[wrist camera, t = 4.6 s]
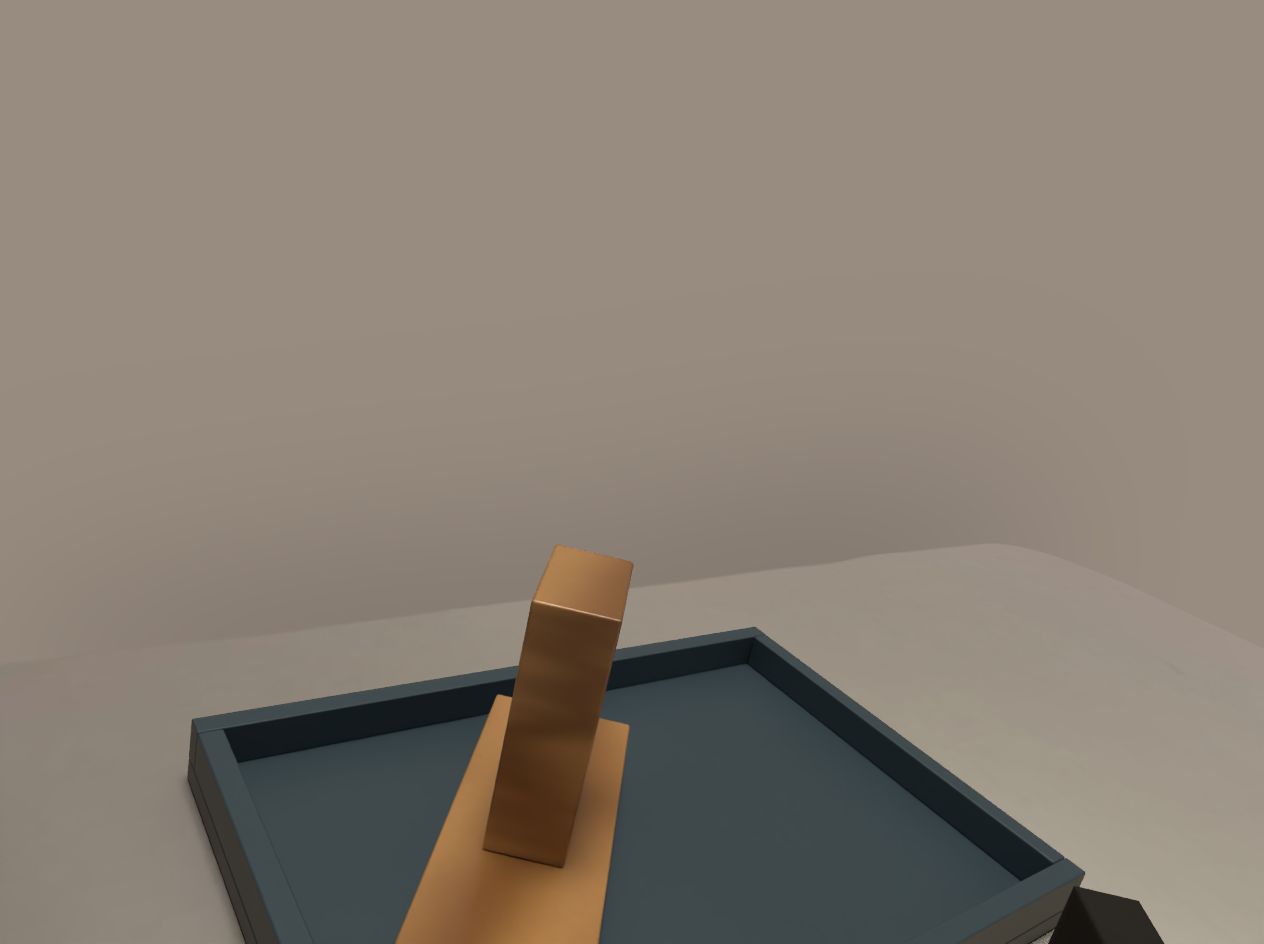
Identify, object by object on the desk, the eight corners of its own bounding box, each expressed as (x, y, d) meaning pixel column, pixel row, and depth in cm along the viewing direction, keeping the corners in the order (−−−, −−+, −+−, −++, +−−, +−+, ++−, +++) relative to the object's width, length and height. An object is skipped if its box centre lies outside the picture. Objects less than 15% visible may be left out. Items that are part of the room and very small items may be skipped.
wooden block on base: (378, 1020, 23) (440, 665, 20) (486, 745, 35) (536, 491, 32) (572, 1067, 23) (664, 717, 20) (617, 776, 35) (680, 524, 32)
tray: (187, 777, 31) (191, 718, 30) (743, 666, 47) (755, 626, 46) (383, 1331, 18) (398, 1251, 17) (1063, 923, 34) (1086, 872, 33)
